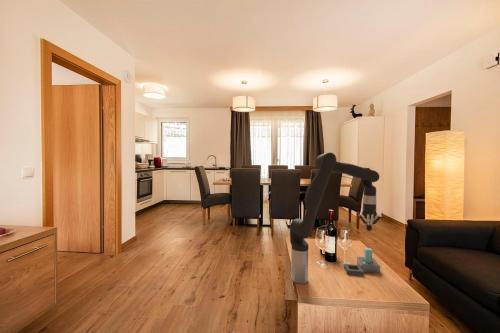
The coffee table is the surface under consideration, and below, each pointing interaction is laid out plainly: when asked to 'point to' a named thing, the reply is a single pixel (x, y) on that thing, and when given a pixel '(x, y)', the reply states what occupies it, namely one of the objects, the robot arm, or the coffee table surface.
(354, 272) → the dark grey shallow dish
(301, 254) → the robot arm
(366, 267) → the port block
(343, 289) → the coffee table surface
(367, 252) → the plug
